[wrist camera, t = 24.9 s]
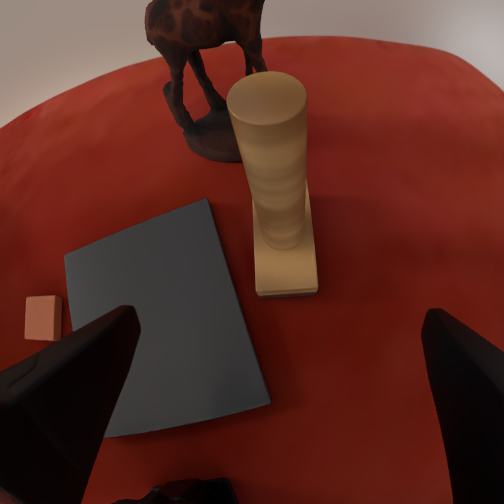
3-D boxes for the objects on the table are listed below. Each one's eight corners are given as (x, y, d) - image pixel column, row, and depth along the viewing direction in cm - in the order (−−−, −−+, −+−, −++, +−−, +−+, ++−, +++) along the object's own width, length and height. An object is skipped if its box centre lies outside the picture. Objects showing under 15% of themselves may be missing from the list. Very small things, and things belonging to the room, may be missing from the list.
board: (272, 401, 21) (271, 403, 20) (104, 436, 21) (98, 438, 20) (209, 203, 26) (207, 197, 25) (70, 258, 27) (64, 255, 26)
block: (61, 342, 24) (53, 340, 23) (32, 340, 24) (24, 339, 23) (63, 297, 25) (55, 294, 24) (34, 299, 26) (26, 296, 25)
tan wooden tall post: (315, 295, 23) (345, 189, 9) (259, 299, 23) (204, 200, 9) (306, 195, 25) (307, 32, 11) (256, 199, 26) (214, 42, 12)
